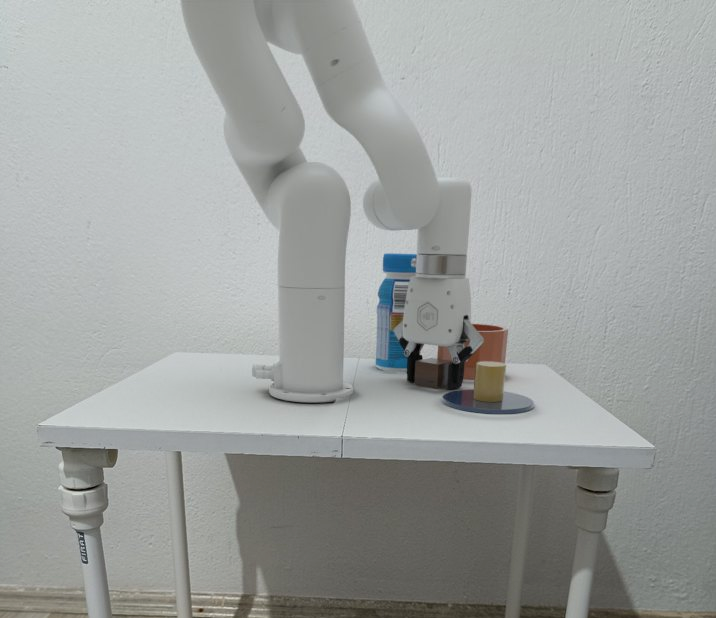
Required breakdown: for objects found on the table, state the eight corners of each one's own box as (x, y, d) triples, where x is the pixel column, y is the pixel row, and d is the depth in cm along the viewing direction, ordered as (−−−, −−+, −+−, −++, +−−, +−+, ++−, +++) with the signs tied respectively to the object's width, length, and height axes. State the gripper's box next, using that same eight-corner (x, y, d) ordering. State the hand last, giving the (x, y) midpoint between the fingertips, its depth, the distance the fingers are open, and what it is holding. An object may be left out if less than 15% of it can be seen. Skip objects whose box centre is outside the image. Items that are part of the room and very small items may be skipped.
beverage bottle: (365, 368, 121) (368, 253, 115) (393, 363, 127) (398, 253, 121) (402, 374, 116) (407, 254, 109) (429, 369, 122) (436, 254, 115)
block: (436, 392, 103) (438, 364, 102) (413, 388, 106) (415, 360, 104) (452, 388, 106) (454, 361, 105) (429, 384, 109) (431, 357, 107)
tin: (435, 381, 112) (438, 329, 109) (437, 368, 123) (440, 322, 120) (505, 384, 110) (510, 332, 107) (500, 372, 121) (505, 324, 118)
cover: (441, 415, 90) (444, 369, 87) (442, 395, 101) (445, 354, 99) (538, 420, 88) (543, 374, 86) (528, 399, 100) (532, 358, 98)
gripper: (380, 265, 102) (376, 379, 108) (477, 270, 92) (467, 396, 98) (409, 265, 108) (404, 373, 114) (504, 269, 97) (493, 389, 103)
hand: (433, 383), depth 106 cm, fingers open, 7 cm apart
